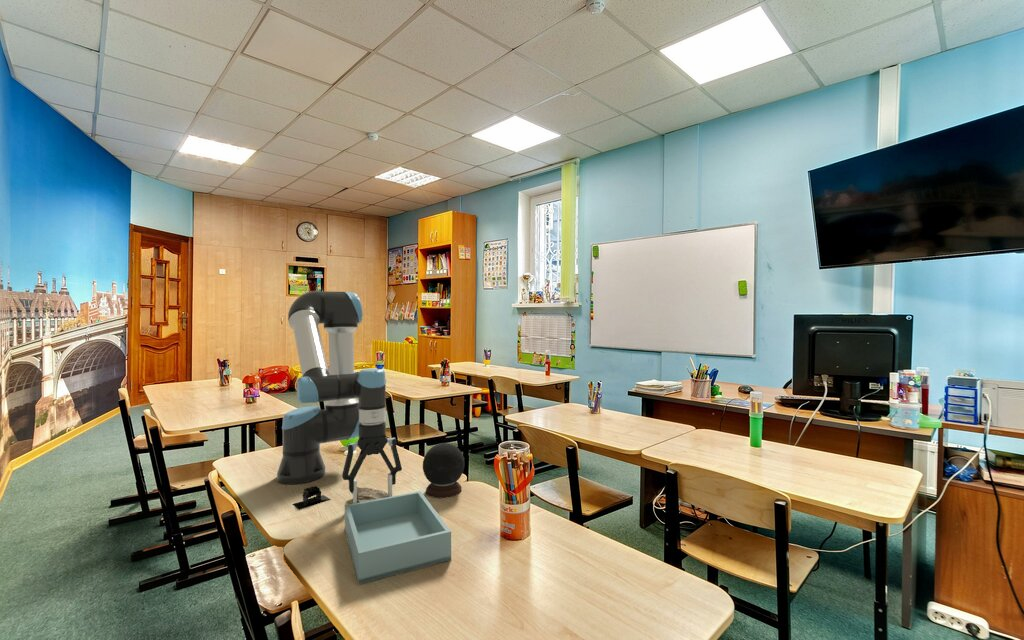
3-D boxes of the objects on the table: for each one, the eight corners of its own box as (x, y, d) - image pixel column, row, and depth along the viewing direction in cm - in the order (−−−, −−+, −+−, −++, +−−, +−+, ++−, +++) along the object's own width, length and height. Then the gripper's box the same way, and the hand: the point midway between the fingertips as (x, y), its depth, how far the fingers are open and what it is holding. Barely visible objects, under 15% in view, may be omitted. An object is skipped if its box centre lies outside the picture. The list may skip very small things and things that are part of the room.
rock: (409, 501, 131) (409, 489, 131) (389, 517, 121) (389, 504, 121) (358, 493, 137) (358, 482, 137) (334, 508, 127) (334, 495, 127)
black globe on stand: (414, 495, 136) (414, 447, 136) (437, 480, 148) (436, 436, 148) (451, 502, 131) (451, 452, 131) (471, 486, 143) (471, 440, 143)
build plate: (295, 514, 124) (295, 497, 124) (285, 506, 129) (285, 491, 129) (337, 500, 133) (337, 485, 133) (326, 494, 138) (326, 479, 138)
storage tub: (344, 530, 114) (344, 505, 114) (420, 514, 123) (420, 491, 123) (358, 584, 90) (358, 553, 90) (451, 559, 100) (451, 531, 100)
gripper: (333, 429, 120) (333, 511, 120) (412, 420, 130) (413, 496, 130) (330, 423, 127) (331, 501, 127) (406, 415, 136) (407, 487, 136)
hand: (372, 498), depth 128 cm, fingers closed on rock, 9 cm apart
